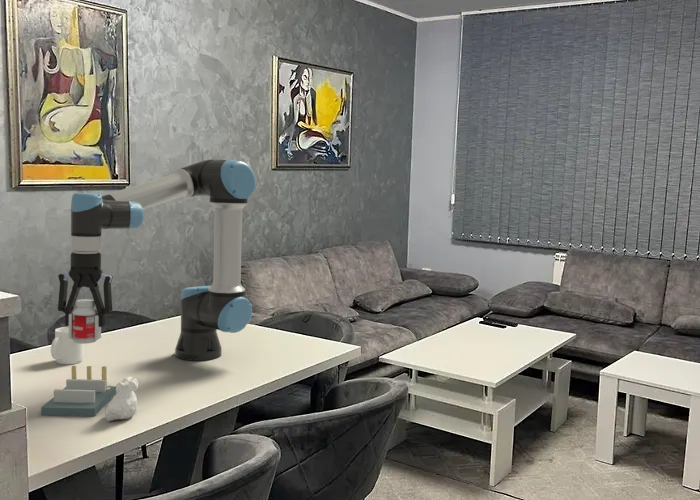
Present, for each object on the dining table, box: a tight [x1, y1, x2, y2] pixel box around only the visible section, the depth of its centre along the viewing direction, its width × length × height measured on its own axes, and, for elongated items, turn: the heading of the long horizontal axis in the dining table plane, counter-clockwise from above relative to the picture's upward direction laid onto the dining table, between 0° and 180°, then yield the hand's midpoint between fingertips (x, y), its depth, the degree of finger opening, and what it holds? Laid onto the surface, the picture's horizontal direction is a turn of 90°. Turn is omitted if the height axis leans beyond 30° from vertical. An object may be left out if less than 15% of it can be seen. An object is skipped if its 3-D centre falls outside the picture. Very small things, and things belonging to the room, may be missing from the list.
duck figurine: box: [104, 376, 139, 422], centre depth 173 cm, size 12×8×11 cm
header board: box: [40, 365, 117, 417], centre depth 181 cm, size 13×18×8 cm
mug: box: [50, 326, 85, 366], centre depth 218 cm, size 12×8×10 cm
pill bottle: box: [72, 298, 98, 345], centre depth 186 cm, size 6×6×11 cm
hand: (84, 337), depth 186 cm, fingers closed on pill bottle, 6 cm apart
